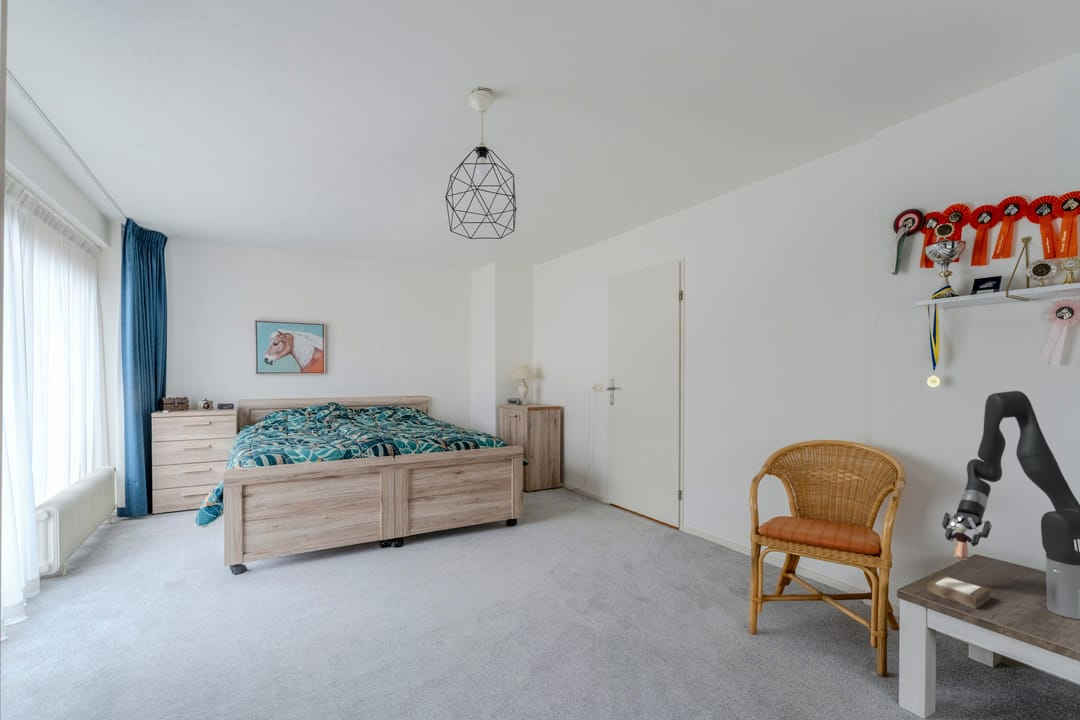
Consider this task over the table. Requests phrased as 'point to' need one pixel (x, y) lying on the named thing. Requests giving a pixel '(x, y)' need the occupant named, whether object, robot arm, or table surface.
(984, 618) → the table surface
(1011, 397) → the robot arm
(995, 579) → the table surface
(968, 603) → the stand
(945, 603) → the table surface
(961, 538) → the grandmother figurine
